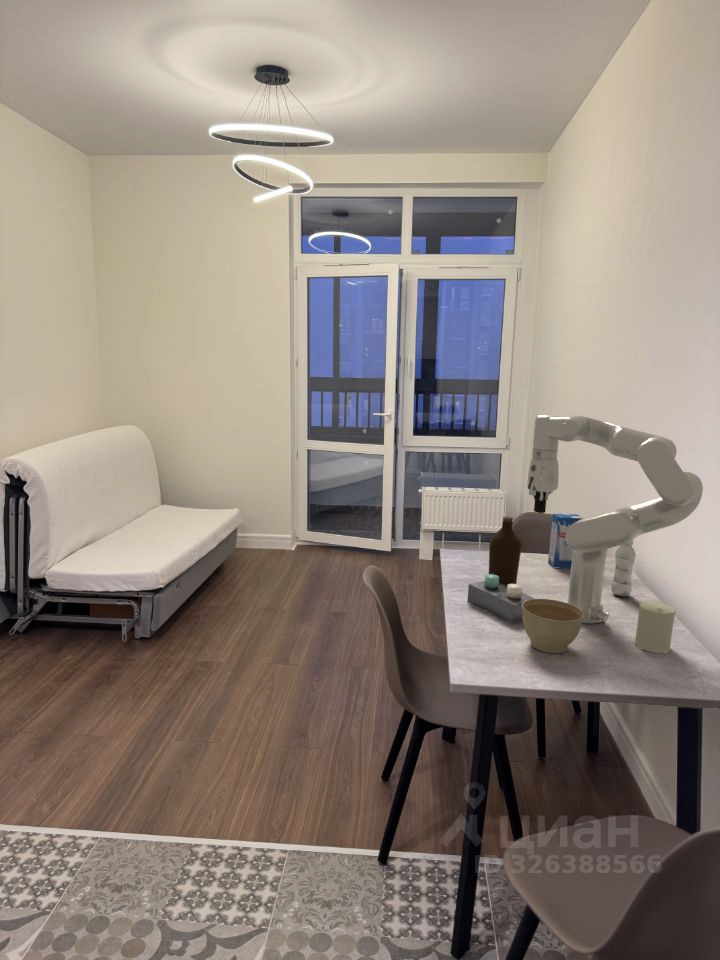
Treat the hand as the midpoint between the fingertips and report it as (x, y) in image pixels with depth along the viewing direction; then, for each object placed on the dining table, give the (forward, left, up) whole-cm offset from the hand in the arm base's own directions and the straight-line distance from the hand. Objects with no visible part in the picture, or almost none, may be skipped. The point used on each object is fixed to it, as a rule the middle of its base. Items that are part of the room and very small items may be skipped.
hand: (539, 512), depth 204 cm
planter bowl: (-27, +21, -30) cm, 45 cm away
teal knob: (+4, +14, -30) cm, 33 cm away
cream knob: (-6, +14, -30) cm, 34 cm away
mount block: (-1, +14, -30) cm, 33 cm away
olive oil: (+14, -1, -30) cm, 34 cm away
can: (-40, -6, -30) cm, 50 cm away
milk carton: (+23, -42, -30) cm, 57 cm away
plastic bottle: (-9, -34, -30) cm, 46 cm away
